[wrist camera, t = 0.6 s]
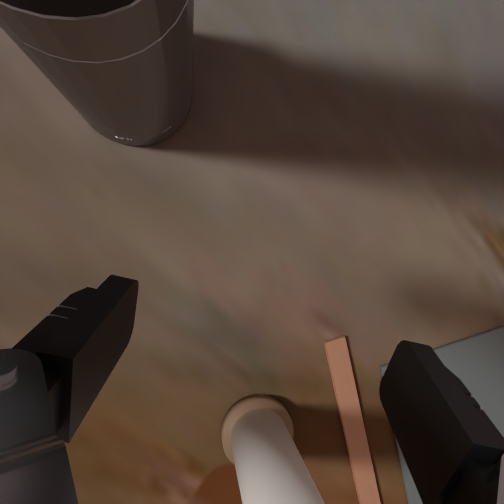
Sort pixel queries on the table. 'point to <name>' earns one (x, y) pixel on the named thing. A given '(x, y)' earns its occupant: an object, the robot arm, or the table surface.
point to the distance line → (352, 420)
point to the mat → (470, 383)
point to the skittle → (266, 453)
